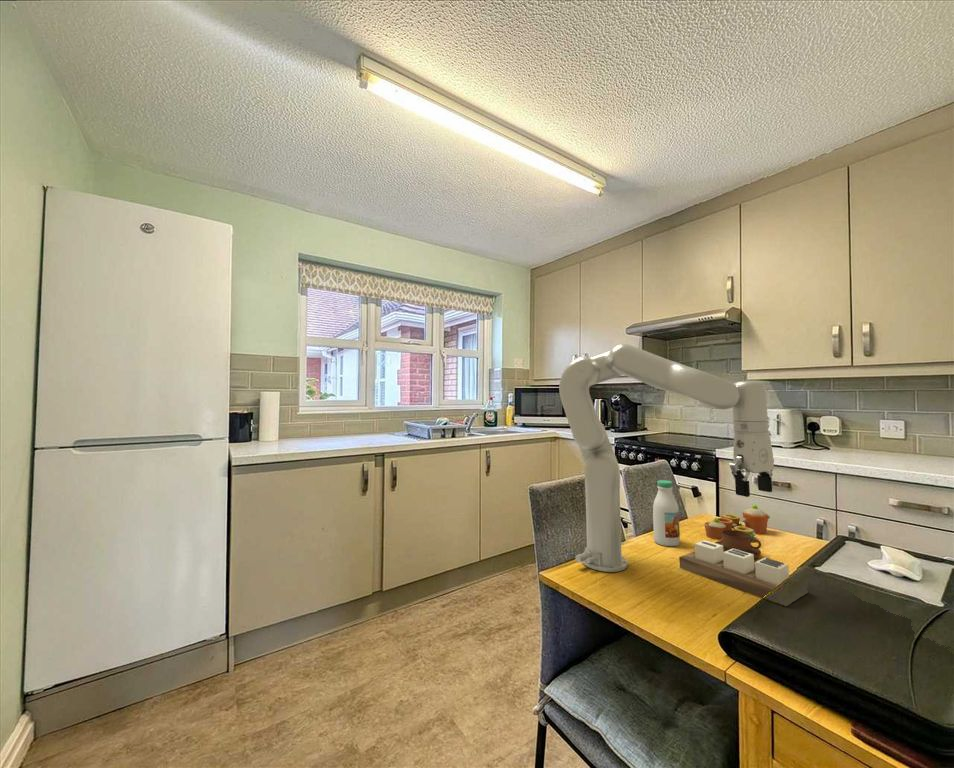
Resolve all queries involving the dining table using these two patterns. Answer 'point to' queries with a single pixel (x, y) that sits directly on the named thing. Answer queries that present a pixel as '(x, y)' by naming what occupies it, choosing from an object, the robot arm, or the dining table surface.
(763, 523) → the toy tea set
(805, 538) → the dining table surface
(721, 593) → the dining table surface
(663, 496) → the milk bottle
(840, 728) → the dining table surface
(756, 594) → the board
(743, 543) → the cup and saucer
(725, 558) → the tile two
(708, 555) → the tile one
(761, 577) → the tile three
